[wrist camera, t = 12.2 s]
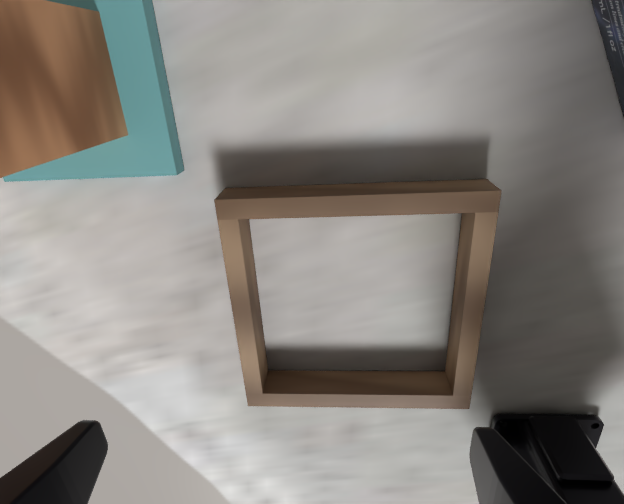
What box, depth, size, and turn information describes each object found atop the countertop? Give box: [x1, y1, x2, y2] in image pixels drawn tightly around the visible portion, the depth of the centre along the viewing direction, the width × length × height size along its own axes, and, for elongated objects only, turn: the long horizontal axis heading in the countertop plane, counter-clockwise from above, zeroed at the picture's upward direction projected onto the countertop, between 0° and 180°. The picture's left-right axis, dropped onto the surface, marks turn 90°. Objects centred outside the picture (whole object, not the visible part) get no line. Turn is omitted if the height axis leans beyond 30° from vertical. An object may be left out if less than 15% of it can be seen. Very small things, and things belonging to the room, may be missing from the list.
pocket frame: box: [214, 179, 501, 409], centre depth 22 cm, size 13×13×2 cm
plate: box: [3, 0, 184, 182], centre depth 18 cm, size 9×9×1 cm
